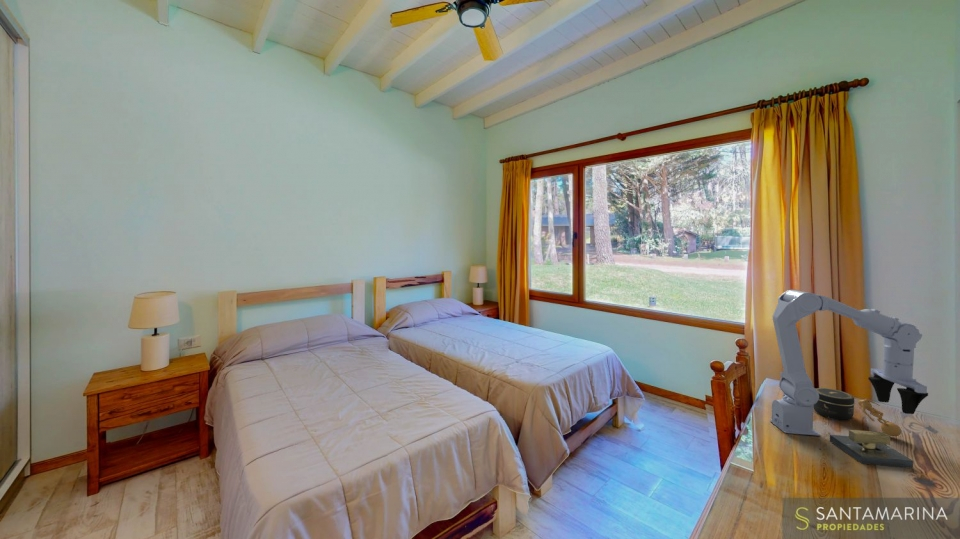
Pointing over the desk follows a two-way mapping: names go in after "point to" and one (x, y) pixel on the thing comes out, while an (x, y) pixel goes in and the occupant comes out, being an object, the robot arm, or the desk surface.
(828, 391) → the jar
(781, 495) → the desk surface
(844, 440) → the key plate
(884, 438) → the t key
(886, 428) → the figurine
